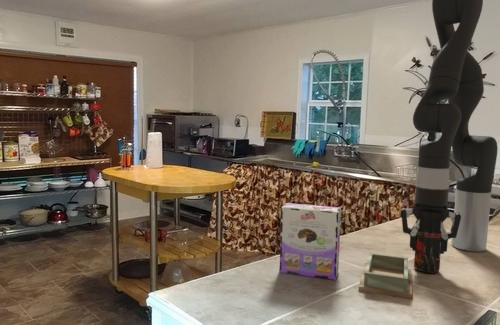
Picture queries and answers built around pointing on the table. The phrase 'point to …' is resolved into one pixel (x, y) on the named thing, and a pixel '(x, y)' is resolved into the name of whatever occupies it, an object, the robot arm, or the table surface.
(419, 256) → the deodorant
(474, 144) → the robot arm
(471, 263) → the table surface
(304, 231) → the candy box
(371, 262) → the holder
